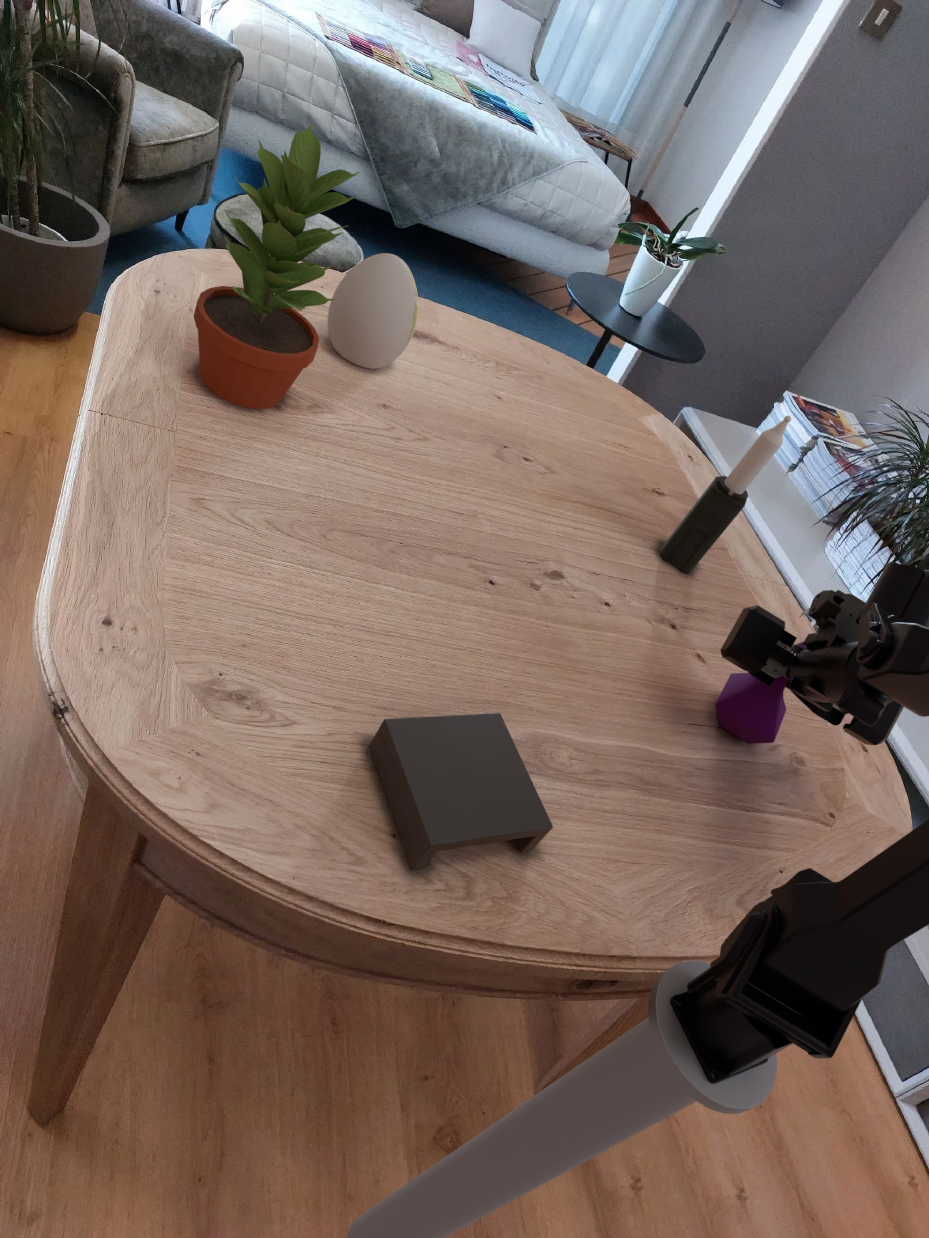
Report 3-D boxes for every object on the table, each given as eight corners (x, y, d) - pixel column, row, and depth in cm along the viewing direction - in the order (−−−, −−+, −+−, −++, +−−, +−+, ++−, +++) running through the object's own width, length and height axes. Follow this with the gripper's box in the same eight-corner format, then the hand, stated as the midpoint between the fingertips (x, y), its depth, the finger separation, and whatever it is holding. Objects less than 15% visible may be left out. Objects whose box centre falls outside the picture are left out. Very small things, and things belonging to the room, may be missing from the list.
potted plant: (204, 419, 96) (275, 154, 77) (166, 343, 103) (223, 85, 85) (320, 427, 105) (409, 191, 86) (277, 356, 113) (351, 126, 94)
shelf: (531, 850, 73) (553, 827, 71) (411, 870, 67) (430, 845, 64) (482, 737, 80) (500, 712, 77) (368, 745, 73) (384, 718, 71)
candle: (694, 560, 123) (808, 421, 107) (688, 576, 119) (805, 433, 103) (665, 541, 123) (774, 399, 107) (658, 556, 119) (770, 411, 103)
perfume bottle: (771, 727, 101) (865, 618, 90) (757, 761, 95) (856, 649, 84) (716, 691, 102) (803, 580, 91) (700, 722, 96) (790, 608, 85)
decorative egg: (413, 373, 126) (454, 282, 117) (357, 382, 117) (395, 283, 108) (360, 326, 129) (395, 233, 120) (301, 331, 120) (334, 231, 111)
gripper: (970, 651, 80) (879, 659, 96) (805, 550, 80) (740, 574, 96) (918, 752, 79) (834, 743, 95) (749, 649, 79) (693, 657, 95)
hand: (777, 677), depth 95 cm, fingers closed on perfume bottle, 4 cm apart
